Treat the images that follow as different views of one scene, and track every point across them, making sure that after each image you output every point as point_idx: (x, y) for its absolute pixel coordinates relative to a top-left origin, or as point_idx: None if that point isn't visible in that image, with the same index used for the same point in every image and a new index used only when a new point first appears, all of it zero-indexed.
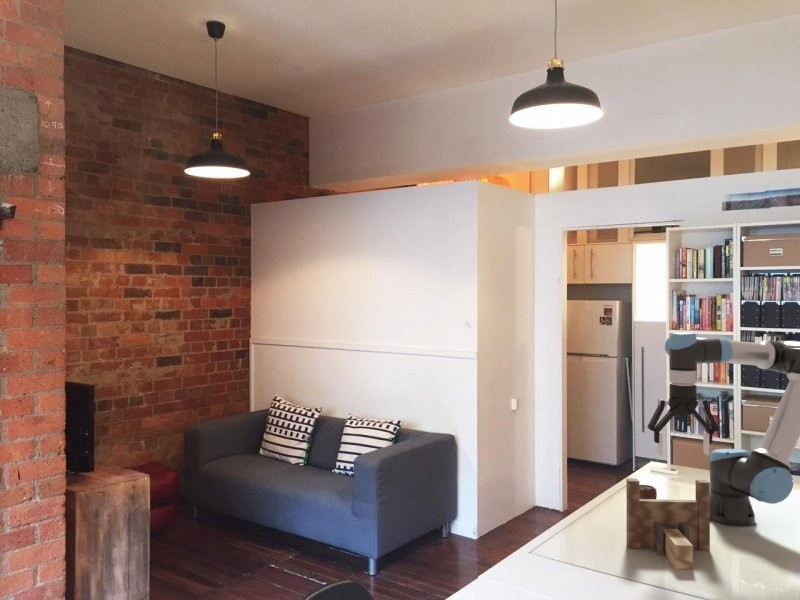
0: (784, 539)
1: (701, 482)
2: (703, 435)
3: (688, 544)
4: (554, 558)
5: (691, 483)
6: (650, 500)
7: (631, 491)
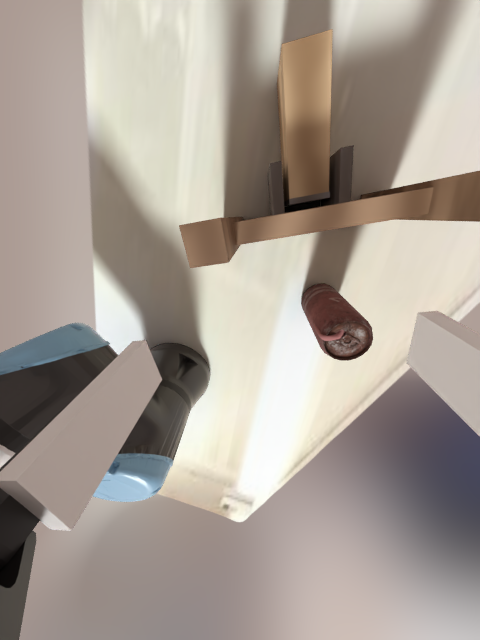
0: (106, 304)
1: (211, 221)
2: (96, 487)
3: (292, 54)
4: None
5: (210, 474)
6: (385, 206)
7: None
